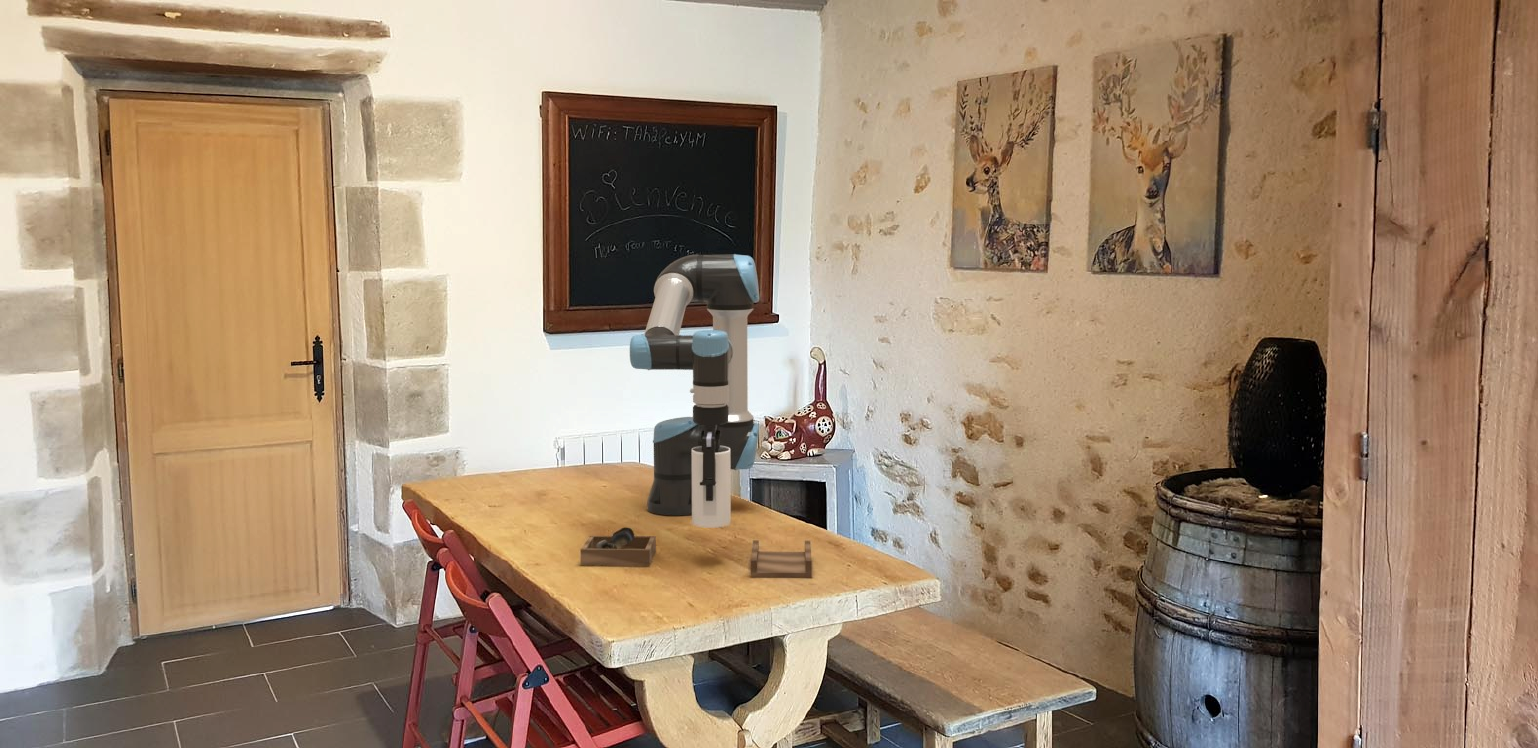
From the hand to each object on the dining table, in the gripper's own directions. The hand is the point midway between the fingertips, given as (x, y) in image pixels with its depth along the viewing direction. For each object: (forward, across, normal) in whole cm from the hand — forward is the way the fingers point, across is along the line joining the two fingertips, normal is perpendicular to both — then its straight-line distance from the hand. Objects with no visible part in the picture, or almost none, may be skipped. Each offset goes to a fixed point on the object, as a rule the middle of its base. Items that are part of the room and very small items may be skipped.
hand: (711, 509), depth 243 cm
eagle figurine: (+12, -1, -20) cm, 24 cm away
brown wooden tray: (+11, +4, +15) cm, 19 cm away
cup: (+3, 0, 0) cm, 3 cm away
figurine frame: (+11, -1, -20) cm, 23 cm away
